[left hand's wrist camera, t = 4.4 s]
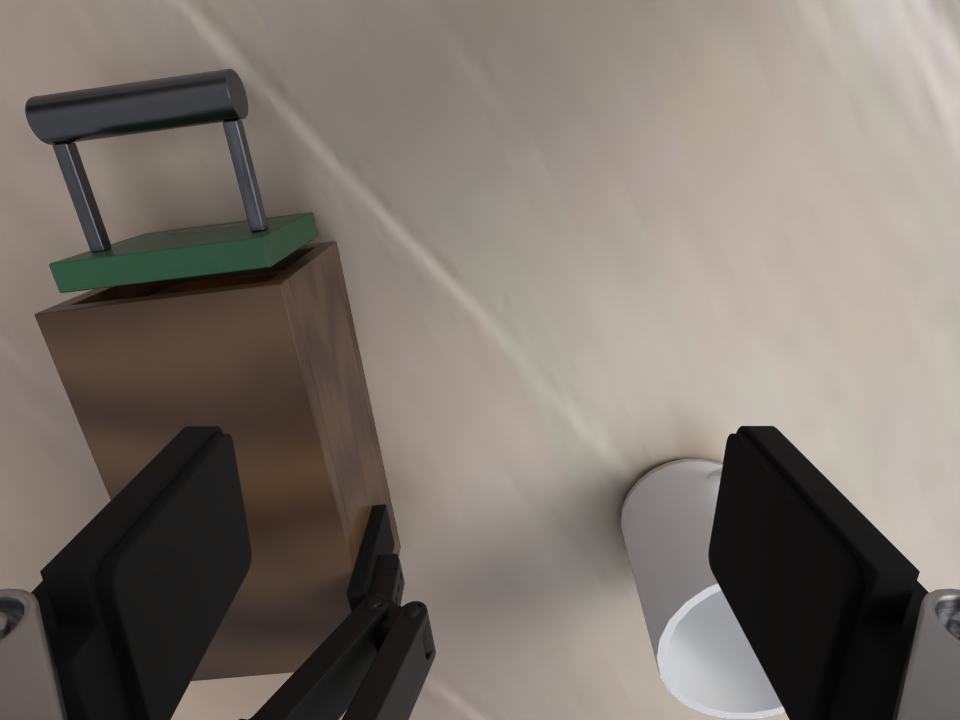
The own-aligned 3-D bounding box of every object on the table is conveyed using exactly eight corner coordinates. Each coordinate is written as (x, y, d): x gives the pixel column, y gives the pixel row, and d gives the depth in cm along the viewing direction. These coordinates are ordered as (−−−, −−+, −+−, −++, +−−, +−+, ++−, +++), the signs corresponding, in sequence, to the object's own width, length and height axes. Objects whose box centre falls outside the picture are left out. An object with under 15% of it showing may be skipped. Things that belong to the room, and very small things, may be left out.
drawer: (101, 102, 28) (-19, 95, 21) (283, 77, 27) (218, 61, 21) (241, 533, 37) (188, 623, 30) (380, 519, 36) (357, 607, 30)
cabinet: (153, 264, 31) (33, 314, 23) (336, 241, 31) (281, 284, 23) (250, 561, 39) (185, 682, 30) (400, 547, 38) (377, 665, 30)
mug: (734, 578, 39) (817, 728, 29) (598, 562, 38) (636, 709, 29) (789, 428, 35) (906, 544, 25) (638, 409, 34) (698, 520, 25)
